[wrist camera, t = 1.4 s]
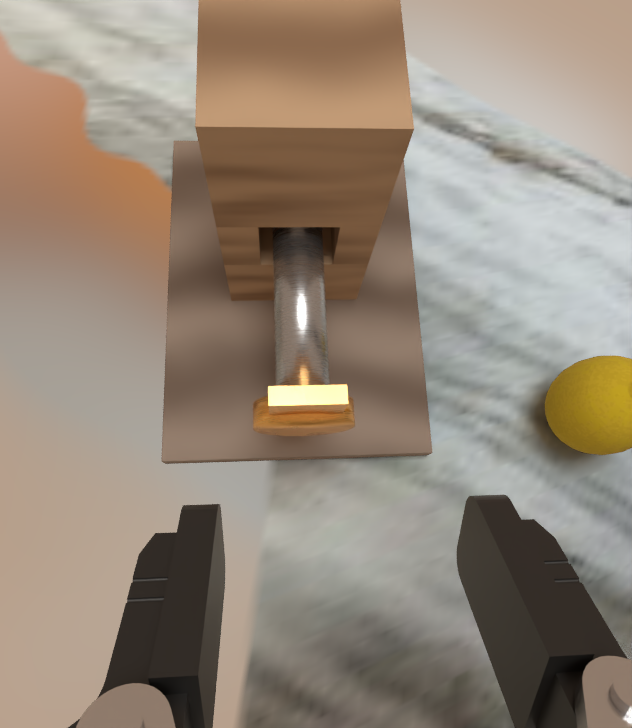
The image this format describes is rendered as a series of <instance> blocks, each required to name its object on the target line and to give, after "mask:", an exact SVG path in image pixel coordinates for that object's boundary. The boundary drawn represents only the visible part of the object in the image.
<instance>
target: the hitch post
mask: <svg viewBox="0 0 632 728" xmlns="http://www.w3.org/2000/svg"><path fill="white" fill-rule="evenodd" d="M195 127H196V132H197V137H198V141H174V151H173V177H172V203H171V229H170V257H169V258H170V259H169V281H168V307H167V308H168V309H167V333H166V359H165V361H166V362H165V387H164V412H163V413H164V414H163V437H162V462H164V463H166V464H169V463H199V462H200V463H202V462H232V461H259V460H260V461H261V460H262V461H263V460H294V459H325V458H356V457H387V456H418V455H429V454H431V453H432V444H431V434H430V424H429V414H428V404H427V393H426V383H425V373H424V363H423V353H422V343H421V333H420V322H419V312H418V302H417V292H416V282H415V272H414V261H413V251H412V241H411V231H410V221H409V211H408V200H407V190H406V180H405V170H404V157H405V154H406V151H407V148H408V145H409V142H410V139H411V136H412V133H413V130H414V126H413V117H412V107H411V98H410V88H409V79H408V70H407V60H406V51H405V41H404V32H403V23H402V13H401V4H400V0H199V8H198V46H197V85H196V124H195ZM273 227H322V236H323V257H324V277H325V298H326V319H327V340H328V361H329V381H330V385H347V392H348V396H350V397H352V398H353V400H354V417H355V427H353V428H352V429H349V430H346V431H343V432H338V433H332V434H325V435H313V436H276V435H267V434H261V433H258V432H255V431H254V430H253V402H254V401H255V400H257V399H259V398H262V397H265V396H268V386H276V371H275V321H274V270H273Z"/></svg>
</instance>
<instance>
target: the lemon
mask: <svg viewBox="0 0 632 728" xmlns="http://www.w3.org/2000/svg"><path fill="white" fill-rule="evenodd" d="M545 415H546V418H547V421H548V424H549V426H550V428H551V429H552V431H553V433H554V434H555V435H556V436H557V437H558V438H559V439H560V440H561V441H562V442H563V443H565V444H566V445H568V446H569V447H571V448H573V449H575V450H578V451H581V452H584V453H588V454H598V455H606V454H612V453H618V452H622V451H625V450H627V449H630V448H632V359H629V358H625V357H621V356H597V357H593V358H589V359H585V360H582V361H579V362H577V363H575V364H573V365H572V366H570V367H568V368H567V369H565V370H564V371H562V372H561V373H560V374H559V376H558V377H557V378H556V379H555V380H554V381H553V382H552V384H551V386H550V388H549V390H548V392H547V395H546V400H545Z"/></svg>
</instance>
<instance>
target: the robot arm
mask: <svg viewBox="0 0 632 728" xmlns="http://www.w3.org/2000/svg"><path fill="white" fill-rule="evenodd" d="M457 566H458V571H459V576H460V579H461V582H462V585H463V587H464V590H465V593H466V596H467V598H468V601H469V604H470V606H471V609H472V612H473V615H474V617H475V620H476V623H477V625H478V628H479V631H480V634H481V636H482V639H483V642H484V644H485V647H486V650H487V653H488V655H489V658H490V661H491V663H492V666H493V669H494V672H495V674H496V677H497V680H498V683H499V685H500V688H501V691H502V693H503V696H504V699H505V702H506V704H507V707H508V710H509V712H510V715H511V718H512V721H513V723H514V726H515V728H632V660H629V659H628V658H627V657H626V655H625V654H624V652H623V651H622V649H621V648H620V646H619V644H618V643H617V641H616V639H615V638H614V636H613V634H612V633H611V631H610V629H609V628H608V626H607V624H606V623H605V621H604V619H603V618H602V616H601V614H600V613H599V611H598V609H597V608H596V606H595V604H594V603H593V601H592V599H591V598H590V596H589V594H588V593H587V591H586V589H585V588H584V586H583V584H582V583H580V582H579V577H578V576H577V574H576V572H575V571H574V569H573V567H572V566H571V564H568V559H567V557H566V556H565V554H564V552H563V551H562V549H561V547H560V546H559V544H558V542H557V541H556V539H555V538H554V537H553V536H552V535H551V534H550V533H549V532H548V531H546V530H545V529H544V528H543V527H542V526H541V525H540V524H538V523H537V522H536V521H535V520H534V519H532V520H521V518H520V517H519V515H518V513H517V511H516V509H515V508H514V506H513V504H512V502H511V500H510V499H509V498H508V497H507V496H506V495H486V496H469V497H468V499H467V501H466V505H465V510H464V515H463V520H462V525H461V531H460V536H459V541H458V546H457ZM224 588H225V554H224V542H223V530H222V518H221V508H220V505H219V504H212V505H186V506H185V505H184V506H183V507H182V510H181V514H180V520H179V525H178V530H177V533H155V535H154V536H153V537H152V538H151V540H150V541H149V542H148V544H147V545H146V546H145V547H144V549H143V550H142V551H141V553H140V554H139V556H138V560H137V564H136V568H135V571H134V575H133V583H131V586H130V590H129V595H128V598H127V600H128V601H127V603H126V605H125V609H124V613H123V617H122V620H121V624H120V628H119V632H118V635H117V639H116V643H115V647H114V650H113V654H112V658H111V662H110V665H109V670H108V673H107V677H106V680H105V683H104V686H103V689H102V690H101V692H100V694H99V696H98V698H97V699H96V700H95V701H94V702H93V703H92V704H91V705H90V706H89V707H88V708H87V710H86V711H85V712H84V714H83V715H82V717H81V718H80V719H79V720H78V721H76V722H75V723H74V724H72V725H71V726H70V727H68V728H212V727H213V715H214V704H215V692H216V681H217V669H218V657H219V646H220V635H221V622H222V611H223V600H224Z"/></svg>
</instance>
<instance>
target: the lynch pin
mask: <svg viewBox="0 0 632 728" xmlns="http://www.w3.org/2000/svg"><path fill="white" fill-rule="evenodd" d="M273 270H274V321H275V371H276V386H268V396H265V397H262V398H259V399H257V400H255V401H254V402H253V430H254V431H255V432H258V433H261V434H267V435H276V436H313V435H325V434H332V433H338V432H343V431H346V430H349V429H352V428H353V427H355V417H354V400H353V398H352V397H350V396H348V392H347V385H330V381H329V361H328V340H327V319H326V298H325V277H324V257H323V236H322V227H273Z"/></svg>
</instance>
